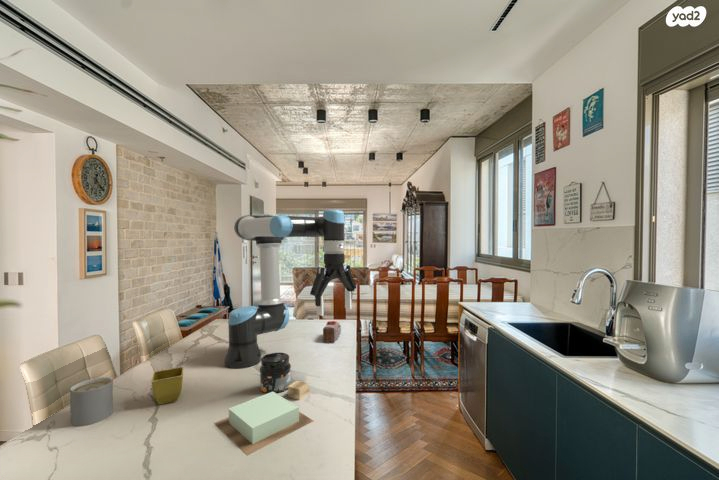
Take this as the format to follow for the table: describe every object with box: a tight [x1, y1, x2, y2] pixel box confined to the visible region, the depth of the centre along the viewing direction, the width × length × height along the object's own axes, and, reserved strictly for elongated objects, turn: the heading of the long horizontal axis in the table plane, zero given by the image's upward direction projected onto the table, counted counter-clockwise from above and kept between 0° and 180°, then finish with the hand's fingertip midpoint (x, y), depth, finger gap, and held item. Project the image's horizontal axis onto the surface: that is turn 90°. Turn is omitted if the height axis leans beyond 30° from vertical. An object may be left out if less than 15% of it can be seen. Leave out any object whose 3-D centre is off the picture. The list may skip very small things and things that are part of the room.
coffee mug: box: [69, 376, 114, 427], centre depth 100 cm, size 13×10×10 cm
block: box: [287, 380, 310, 401], centre depth 107 cm, size 5×5×5 cm
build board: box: [213, 411, 314, 456], centre depth 91 cm, size 20×20×2 cm
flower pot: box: [150, 366, 184, 405], centre depth 108 cm, size 9×9×9 cm
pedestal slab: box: [228, 392, 300, 444], centre depth 91 cm, size 14×14×4 cm
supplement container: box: [259, 352, 292, 395], centre depth 113 cm, size 10×10×12 cm
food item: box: [322, 320, 342, 344], centre depth 171 cm, size 14×8×10 cm, turn 173°
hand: (334, 311), depth 116 cm, fingers open, 13 cm apart
